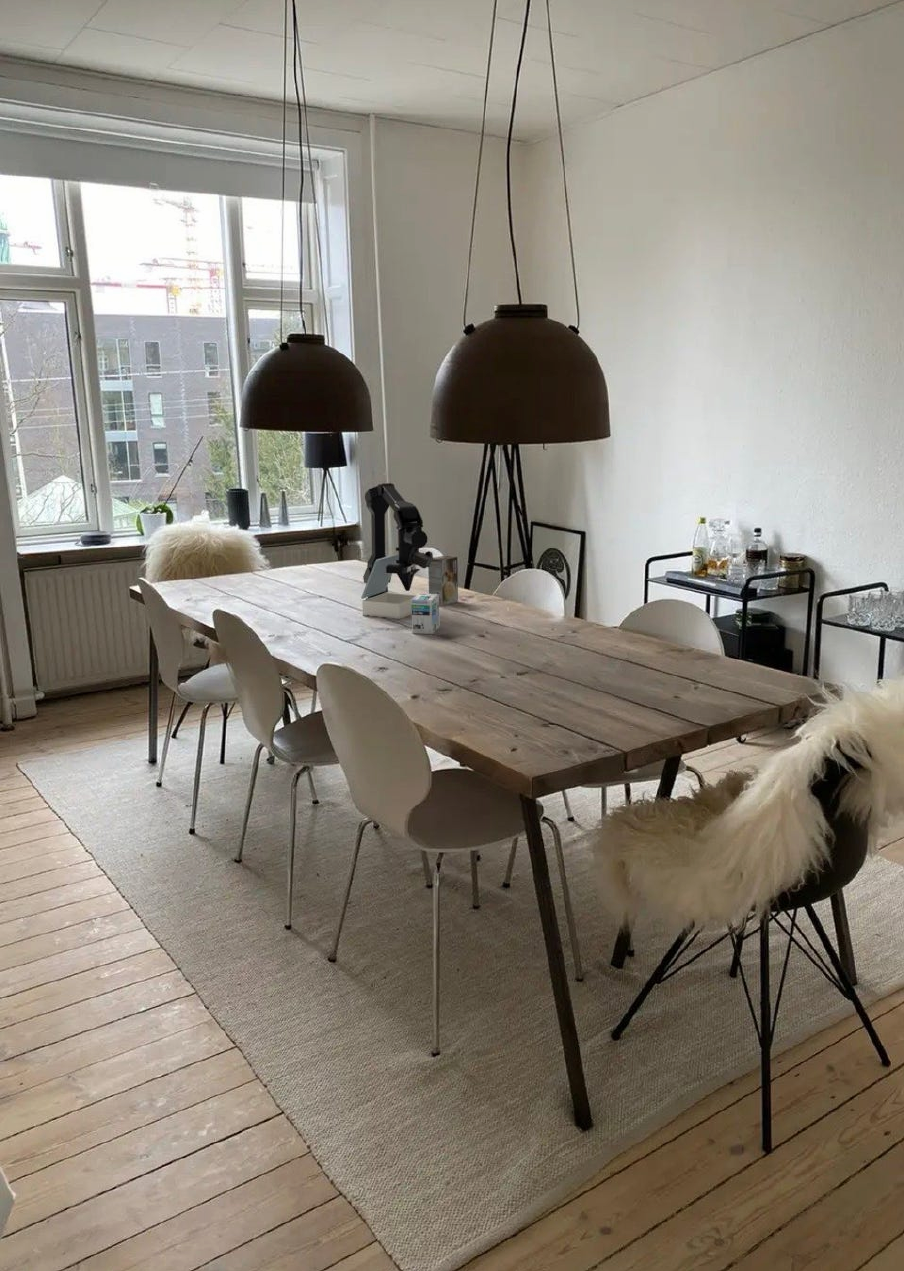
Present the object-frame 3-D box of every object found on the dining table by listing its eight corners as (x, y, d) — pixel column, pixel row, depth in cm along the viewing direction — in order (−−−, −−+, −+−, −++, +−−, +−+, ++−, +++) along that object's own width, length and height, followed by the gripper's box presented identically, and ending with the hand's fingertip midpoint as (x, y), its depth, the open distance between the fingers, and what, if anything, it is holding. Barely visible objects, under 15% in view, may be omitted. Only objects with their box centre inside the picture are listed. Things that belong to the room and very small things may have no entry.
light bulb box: (432, 634, 301) (432, 600, 298) (411, 633, 302) (410, 599, 299) (440, 626, 311) (439, 593, 308) (419, 626, 312) (418, 592, 310)
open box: (362, 615, 327) (362, 600, 326) (386, 606, 341) (386, 592, 340) (399, 619, 321) (399, 604, 320) (422, 609, 335) (422, 595, 334)
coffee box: (444, 599, 353) (443, 555, 349) (458, 601, 349) (458, 556, 345) (428, 603, 346) (427, 558, 342) (442, 606, 342) (442, 560, 338)
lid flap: (362, 598, 327) (360, 597, 327) (385, 590, 340) (383, 590, 340) (377, 560, 321) (376, 559, 321) (400, 554, 334) (398, 553, 334)
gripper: (415, 549, 312) (415, 597, 316) (441, 541, 328) (441, 587, 332) (384, 547, 317) (385, 595, 320) (412, 539, 333) (412, 585, 337)
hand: (407, 590), depth 327 cm, fingers closed
